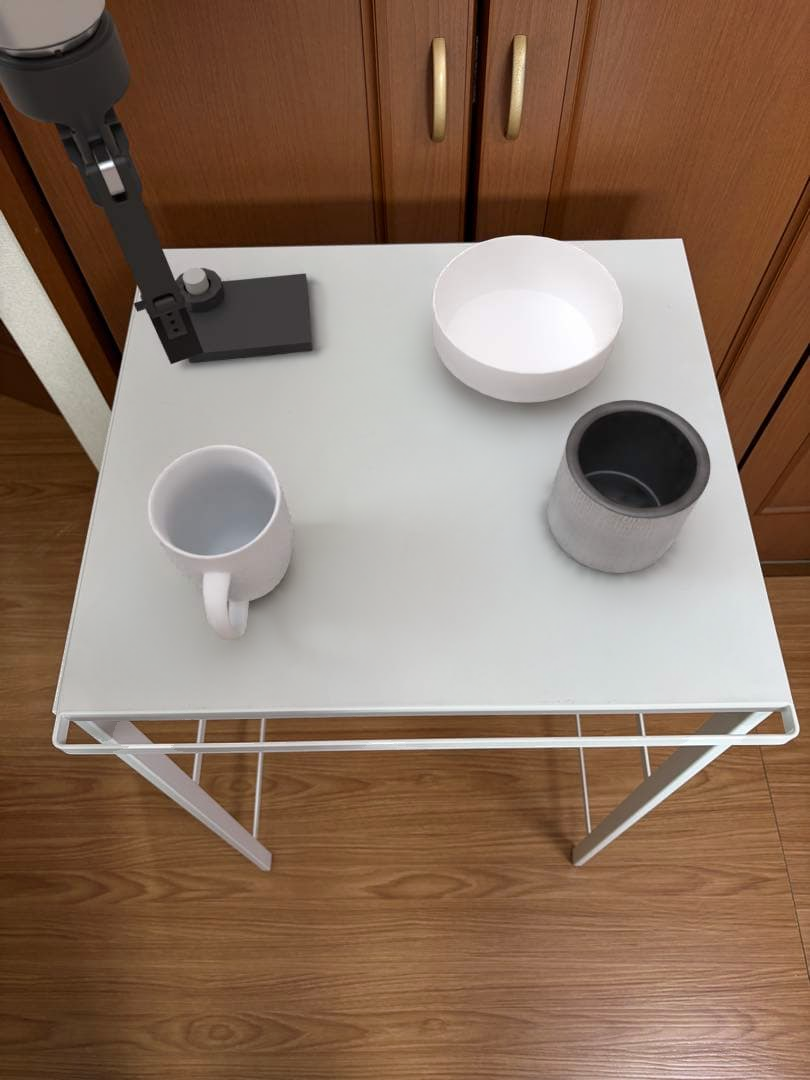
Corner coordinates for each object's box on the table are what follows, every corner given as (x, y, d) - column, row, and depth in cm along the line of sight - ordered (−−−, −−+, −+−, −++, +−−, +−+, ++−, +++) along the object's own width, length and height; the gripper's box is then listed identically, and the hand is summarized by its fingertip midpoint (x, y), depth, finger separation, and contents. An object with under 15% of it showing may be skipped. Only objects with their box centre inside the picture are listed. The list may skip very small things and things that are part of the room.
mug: (301, 658, 68) (277, 601, 56) (180, 664, 68) (131, 608, 56) (304, 516, 75) (284, 439, 63) (195, 521, 75) (154, 445, 63)
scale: (178, 364, 84) (170, 345, 82) (181, 289, 90) (173, 270, 87) (312, 350, 85) (309, 331, 82) (307, 277, 91) (303, 257, 88)
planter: (533, 558, 72) (551, 498, 62) (558, 455, 78) (579, 384, 68) (664, 591, 70) (704, 534, 60) (680, 483, 76) (719, 415, 66)
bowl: (606, 435, 79) (625, 382, 71) (421, 418, 80) (421, 365, 73) (605, 300, 88) (622, 241, 80) (439, 287, 89) (441, 228, 82)
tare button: (186, 296, 86) (182, 284, 84) (186, 280, 87) (182, 268, 85) (209, 294, 86) (205, 282, 84) (209, 278, 87) (205, 266, 86)
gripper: (170, 122, 38) (254, 389, 57) (59, -87, 49) (161, 195, 68) (24, 166, 37) (160, 424, 56) (-56, -59, 48) (81, 221, 66)
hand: (161, 299), depth 62 cm, fingers open, 13 cm apart
